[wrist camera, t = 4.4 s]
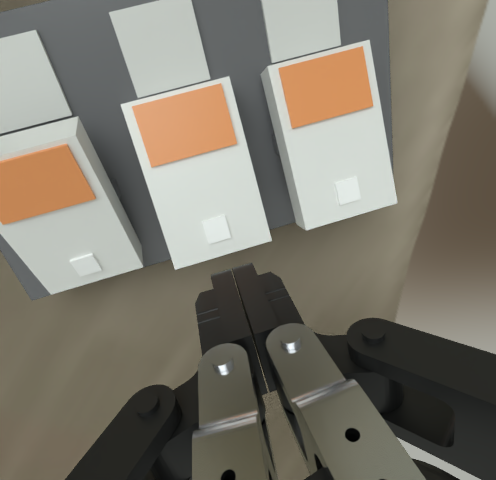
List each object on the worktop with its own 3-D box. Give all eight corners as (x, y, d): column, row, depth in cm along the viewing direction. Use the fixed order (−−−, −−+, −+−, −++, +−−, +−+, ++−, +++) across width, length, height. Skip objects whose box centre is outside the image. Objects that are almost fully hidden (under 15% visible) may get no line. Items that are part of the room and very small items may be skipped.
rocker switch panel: (-174, 65, 17) (-270, 71, 13) (347, -58, 19) (395, -84, 15) (-21, 285, 22) (-56, 334, 19) (364, 174, 24) (401, 197, 21)
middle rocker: (126, 109, 17) (119, 103, 15) (225, 83, 17) (229, 75, 15) (176, 260, 18) (175, 270, 17) (265, 233, 19) (272, 241, 17)
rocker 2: (260, 74, 17) (268, 65, 15) (353, 49, 17) (371, 38, 16) (296, 224, 19) (307, 231, 17) (380, 199, 19) (399, 203, 17)
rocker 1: (-41, 146, 14) (-55, 171, 13) (78, 116, 15) (75, 137, 13) (54, 270, 19) (50, 297, 18) (141, 244, 19) (143, 269, 18)
